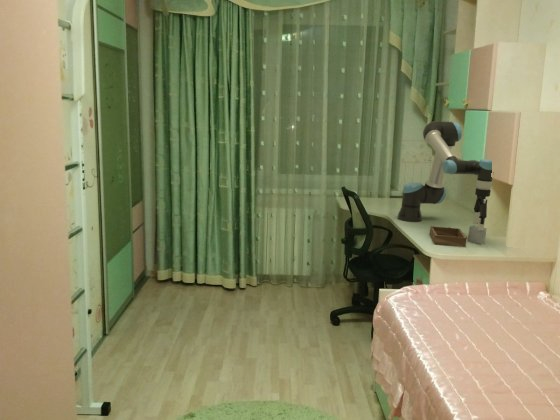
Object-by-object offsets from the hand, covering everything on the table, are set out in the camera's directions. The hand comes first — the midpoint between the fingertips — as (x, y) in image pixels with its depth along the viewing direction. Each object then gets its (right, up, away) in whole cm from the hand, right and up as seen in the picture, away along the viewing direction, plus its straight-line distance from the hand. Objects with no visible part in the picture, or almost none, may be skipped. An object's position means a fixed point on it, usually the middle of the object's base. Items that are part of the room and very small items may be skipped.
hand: (477, 226), depth 291 cm
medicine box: (0, -9, +2) cm, 9 cm away
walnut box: (-17, -8, +2) cm, 18 cm away
